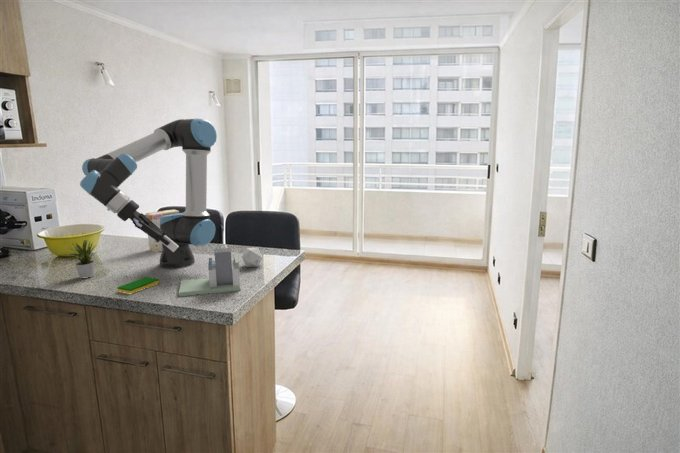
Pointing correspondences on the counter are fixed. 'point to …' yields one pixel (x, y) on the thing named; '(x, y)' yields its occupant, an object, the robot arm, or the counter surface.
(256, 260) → the die
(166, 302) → the counter surface
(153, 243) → the coffeecake box
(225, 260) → the steel block
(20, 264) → the counter surface
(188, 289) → the vise bed
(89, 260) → the house plant
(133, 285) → the dish sponge
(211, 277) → the sliding jaw
